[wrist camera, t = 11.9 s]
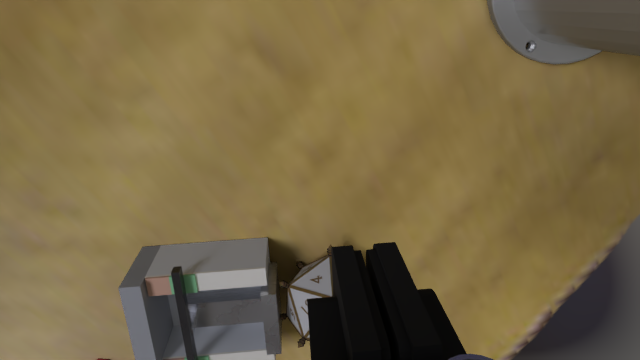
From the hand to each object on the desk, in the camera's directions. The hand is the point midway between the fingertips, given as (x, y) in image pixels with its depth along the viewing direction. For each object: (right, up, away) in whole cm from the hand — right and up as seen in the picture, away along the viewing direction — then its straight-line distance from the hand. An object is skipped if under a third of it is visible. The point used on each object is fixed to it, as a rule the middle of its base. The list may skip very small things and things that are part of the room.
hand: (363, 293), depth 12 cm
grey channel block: (-9, -7, +30) cm, 32 cm away
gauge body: (-11, -7, +31) cm, 34 cm away
